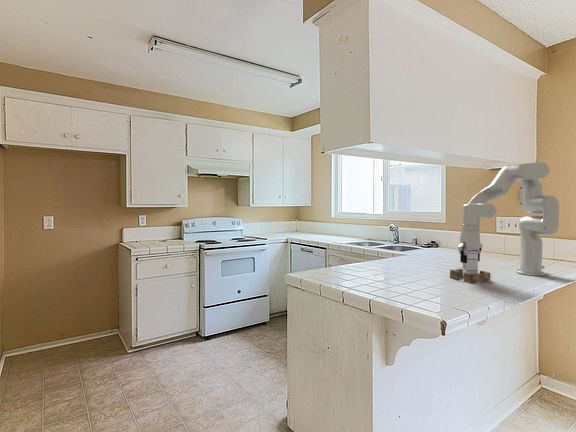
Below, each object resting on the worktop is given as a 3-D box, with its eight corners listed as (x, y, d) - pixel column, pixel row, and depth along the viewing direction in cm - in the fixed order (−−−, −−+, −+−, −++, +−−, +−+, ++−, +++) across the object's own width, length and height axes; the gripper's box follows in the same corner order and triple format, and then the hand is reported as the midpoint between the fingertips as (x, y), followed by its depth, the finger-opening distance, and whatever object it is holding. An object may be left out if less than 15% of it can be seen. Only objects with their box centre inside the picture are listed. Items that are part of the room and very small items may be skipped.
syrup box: (478, 280, 164) (479, 251, 163) (465, 280, 165) (466, 251, 164) (474, 278, 169) (474, 250, 169) (461, 277, 170) (462, 249, 170)
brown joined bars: (466, 275, 176) (466, 267, 176) (491, 280, 164) (491, 272, 164) (448, 277, 170) (449, 270, 170) (473, 283, 158) (473, 275, 158)
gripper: (475, 227, 173) (474, 259, 174) (452, 228, 166) (451, 262, 166) (489, 228, 166) (488, 261, 167) (466, 229, 159) (465, 264, 160)
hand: (470, 261), depth 167 cm, fingers open, 9 cm apart
